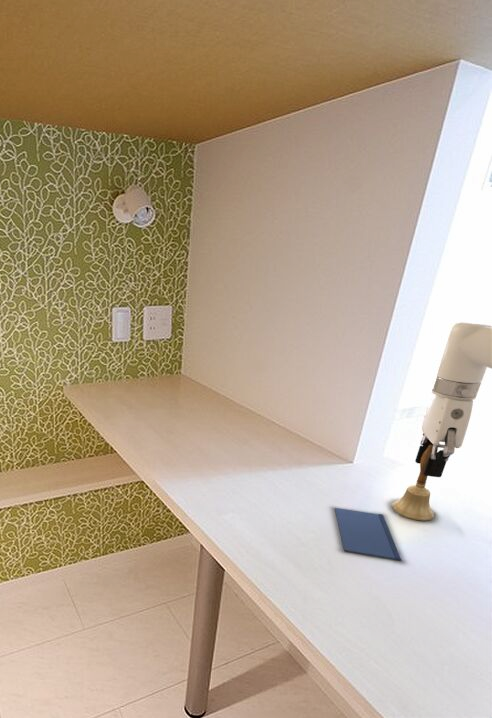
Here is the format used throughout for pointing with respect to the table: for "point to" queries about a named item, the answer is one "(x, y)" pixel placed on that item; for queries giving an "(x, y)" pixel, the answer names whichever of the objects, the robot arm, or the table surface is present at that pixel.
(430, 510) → the hand bell
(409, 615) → the table surface
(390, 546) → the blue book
